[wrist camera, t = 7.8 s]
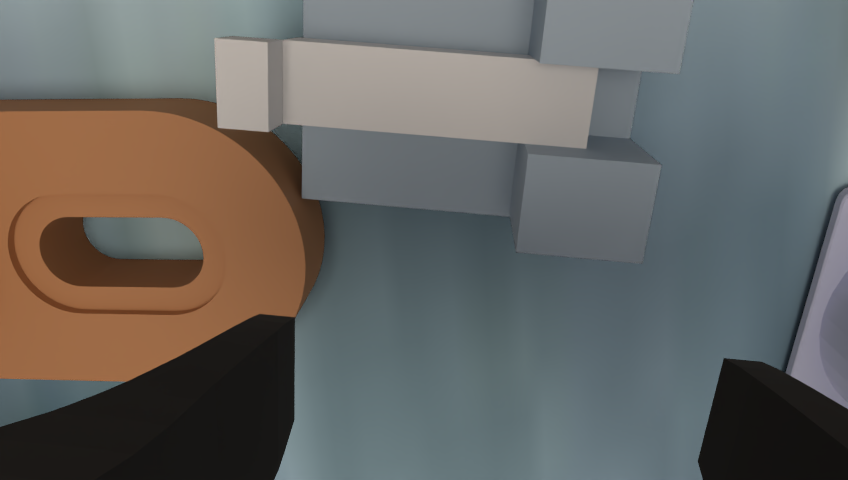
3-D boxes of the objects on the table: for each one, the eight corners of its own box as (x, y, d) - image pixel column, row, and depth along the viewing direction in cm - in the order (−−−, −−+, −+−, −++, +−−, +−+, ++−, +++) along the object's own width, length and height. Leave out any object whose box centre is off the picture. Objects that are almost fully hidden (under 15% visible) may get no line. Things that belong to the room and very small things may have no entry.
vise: (677, -220, 16) (753, -305, 12) (604, 210, 20) (641, 267, 16) (273, -244, 17) (201, -334, 12) (275, 182, 21) (221, 229, 16)
